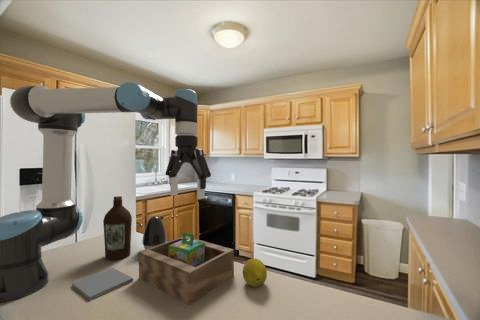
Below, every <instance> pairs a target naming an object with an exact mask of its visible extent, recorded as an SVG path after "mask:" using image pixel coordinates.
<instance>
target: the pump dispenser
mask: <svg viewBox="0 0 480 320" xmlns="http://www.w3.org/2000/svg"><path fill="white" fill-rule="evenodd" d="M164 218H165V216H164V215H162V216H160V217H159V216H157V215H154V216H150V217H149V219H148V220H147V222H146V224H145V227H144V230H143V234H142V246H143V248H144V250H146V249H149V248H151V247H154V246H157V245H160V244H163V243H166V242H168V241H167V232H166V229H165V226H164V222H163V221H162V220H163V219H164Z"/></svg>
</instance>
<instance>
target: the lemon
mask: <svg viewBox="0 0 480 320" xmlns="http://www.w3.org/2000/svg"><path fill="white" fill-rule="evenodd" d="M266 267H267V266H266V265H265V263H264V262H263V261H262V260H260V259H259V258H250V259H248V260H246V262H245V263H244V265H243V268H242V277H243V279H244V281H245V283H246V284H247V285H248V286H250V287H254V288H255V287H260V286H262V285H263V284H264V283H265V282H266V281H267V277H268V276H267V274H268V273H267V272H268V271H267V268H266Z"/></svg>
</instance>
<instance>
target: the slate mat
mask: <svg viewBox="0 0 480 320" xmlns="http://www.w3.org/2000/svg"><path fill="white" fill-rule="evenodd" d="M133 281H134V278H133V277H132V276H130V275H127V274H126V273H124V272H122V271H120V270H118V269H116V268H115V267H112V268H109V269H106V270H104V271H100V272H98V273H95V274H93V275H90V276H88V277H85V278H82V279H80V280H77V281H74V282H72V283H71V286H72V288H74V289H75V290H76V291H77V292H79V293H80V294H81V295H83V297H84V298H86V299H88V300H89V301H92V300H94V299H97V298H99V297H101V296H103V295H105V294H107V293H110V292H112V291H114V290H116V289H118V288H121V287H123V286H125V285H127V284H129V283H132V282H133Z"/></svg>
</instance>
